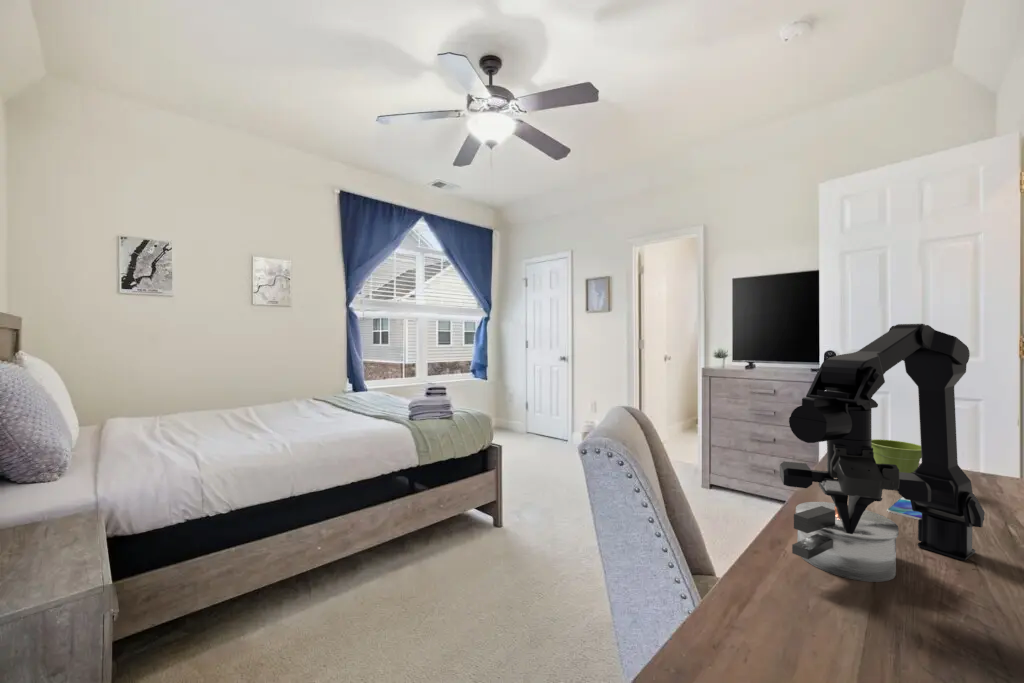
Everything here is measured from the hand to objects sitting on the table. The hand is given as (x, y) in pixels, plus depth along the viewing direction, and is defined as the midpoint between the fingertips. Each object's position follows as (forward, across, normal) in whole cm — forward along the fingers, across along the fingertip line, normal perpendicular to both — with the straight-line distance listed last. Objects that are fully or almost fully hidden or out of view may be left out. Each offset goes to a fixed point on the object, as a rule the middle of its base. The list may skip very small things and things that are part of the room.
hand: (848, 532), depth 72 cm
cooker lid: (+1, -1, +7) cm, 7 cm away
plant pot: (+9, +25, +64) cm, 69 cm away
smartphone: (+9, +22, +45) cm, 51 cm away
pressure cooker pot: (+8, 0, +7) cm, 11 cm away
